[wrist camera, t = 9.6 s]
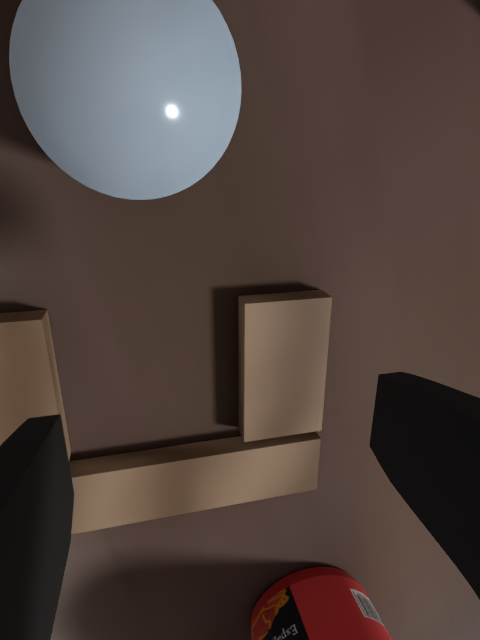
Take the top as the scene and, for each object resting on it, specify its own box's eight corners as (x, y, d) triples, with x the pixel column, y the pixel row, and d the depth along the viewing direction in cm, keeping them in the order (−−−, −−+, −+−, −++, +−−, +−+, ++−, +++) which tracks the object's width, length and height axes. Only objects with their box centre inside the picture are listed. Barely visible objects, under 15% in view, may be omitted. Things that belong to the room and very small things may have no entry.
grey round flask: (208, 187, 17) (240, 198, 12) (61, 188, 16) (30, 201, 11) (202, -97, 14) (243, -237, 9) (18, -123, 13) (-51, -302, 8)
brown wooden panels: (-8, 529, 20) (-16, 550, 19) (-64, 317, 16) (-78, 328, 15) (308, 474, 24) (316, 489, 23) (321, 289, 20) (332, 297, 19)
